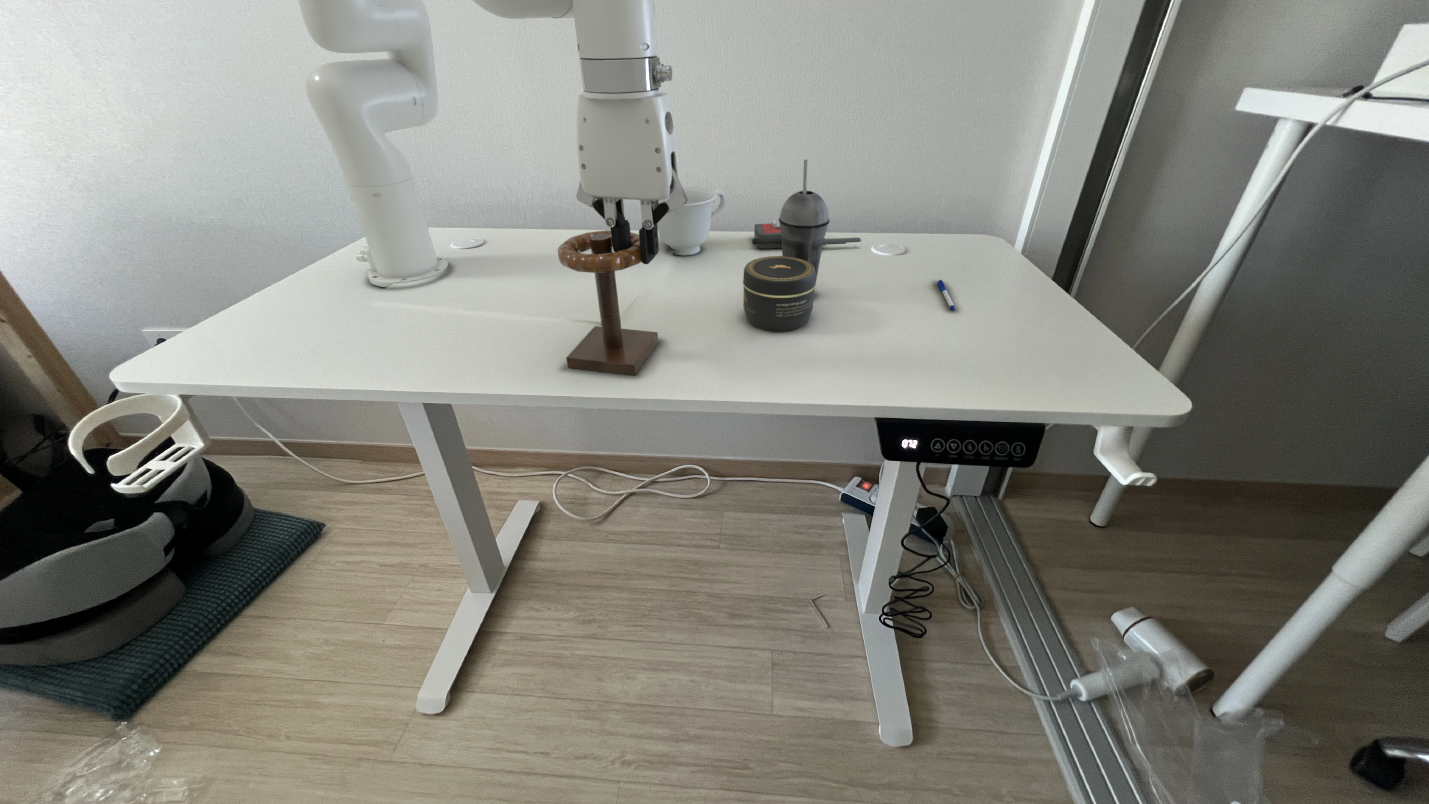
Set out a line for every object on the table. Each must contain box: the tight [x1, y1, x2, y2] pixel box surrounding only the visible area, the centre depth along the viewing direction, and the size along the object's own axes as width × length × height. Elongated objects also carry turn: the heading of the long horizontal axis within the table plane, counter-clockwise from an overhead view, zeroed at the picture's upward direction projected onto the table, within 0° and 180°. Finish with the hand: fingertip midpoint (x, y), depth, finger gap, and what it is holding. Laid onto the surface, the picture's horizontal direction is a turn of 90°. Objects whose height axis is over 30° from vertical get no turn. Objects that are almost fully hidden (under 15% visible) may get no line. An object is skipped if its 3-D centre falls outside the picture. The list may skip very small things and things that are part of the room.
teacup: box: [657, 186, 727, 256], centre depth 107 cm, size 12×15×10 cm
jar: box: [742, 255, 817, 332], centre depth 82 cm, size 10×10×8 cm
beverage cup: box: [778, 159, 830, 286], centre depth 86 cm, size 7×7×20 cm
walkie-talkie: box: [751, 219, 862, 250], centre depth 110 cm, size 9×4×20 cm
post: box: [566, 234, 659, 376], centre depth 72 cm, size 9×9×16 cm
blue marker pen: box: [937, 279, 956, 311], centre depth 90 cm, size 10×1×1 cm, turn 174°
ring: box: [557, 229, 642, 274], centre depth 68 cm, size 10×10×2 cm
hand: (636, 257), depth 68 cm, fingers closed on ring, 2 cm apart
